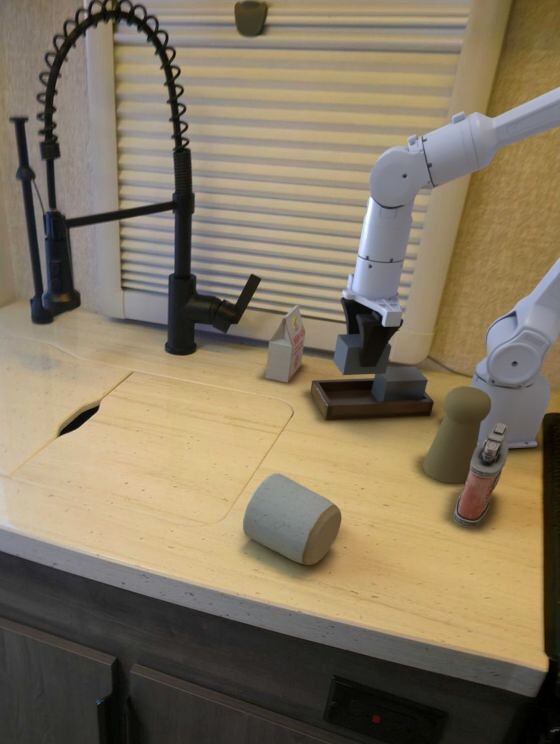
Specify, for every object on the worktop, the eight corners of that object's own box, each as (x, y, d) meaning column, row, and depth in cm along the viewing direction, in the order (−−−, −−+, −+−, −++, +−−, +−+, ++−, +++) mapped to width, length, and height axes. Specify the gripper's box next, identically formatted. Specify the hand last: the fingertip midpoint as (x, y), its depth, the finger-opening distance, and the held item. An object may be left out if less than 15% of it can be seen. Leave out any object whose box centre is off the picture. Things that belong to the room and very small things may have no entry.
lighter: (479, 531, 74) (507, 455, 68) (448, 521, 76) (472, 446, 70) (493, 496, 80) (520, 423, 74) (464, 487, 81) (489, 415, 75)
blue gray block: (374, 360, 94) (379, 332, 92) (385, 373, 90) (391, 346, 88) (333, 361, 93) (337, 334, 91) (343, 375, 90) (348, 347, 88)
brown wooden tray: (408, 390, 102) (415, 361, 99) (430, 415, 96) (438, 385, 93) (309, 394, 101) (314, 364, 98) (325, 420, 94) (330, 389, 91)
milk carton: (265, 377, 105) (271, 316, 99) (279, 361, 110) (286, 302, 104) (287, 382, 104) (295, 320, 98) (300, 366, 109) (309, 306, 103)
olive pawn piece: (475, 486, 81) (503, 406, 75) (424, 480, 82) (447, 400, 76) (468, 460, 86) (493, 382, 80) (420, 454, 87) (441, 377, 81)
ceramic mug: (304, 582, 67) (315, 522, 63) (238, 548, 71) (244, 489, 67) (353, 534, 74) (366, 476, 69) (290, 505, 78) (299, 449, 73)
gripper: (332, 240, 88) (318, 338, 97) (370, 275, 77) (350, 382, 85) (383, 239, 89) (365, 336, 97) (428, 273, 78) (403, 380, 86)
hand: (361, 357), depth 91 cm, fingers closed on blue gray block, 4 cm apart
